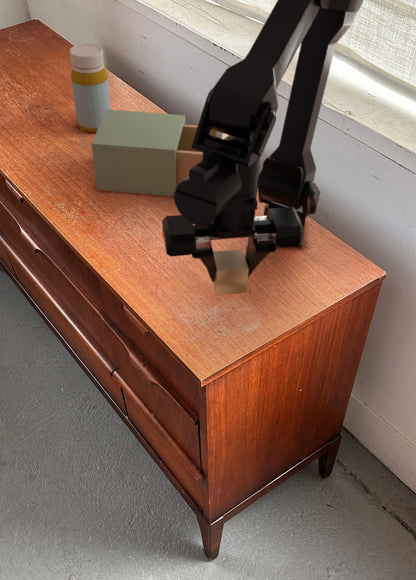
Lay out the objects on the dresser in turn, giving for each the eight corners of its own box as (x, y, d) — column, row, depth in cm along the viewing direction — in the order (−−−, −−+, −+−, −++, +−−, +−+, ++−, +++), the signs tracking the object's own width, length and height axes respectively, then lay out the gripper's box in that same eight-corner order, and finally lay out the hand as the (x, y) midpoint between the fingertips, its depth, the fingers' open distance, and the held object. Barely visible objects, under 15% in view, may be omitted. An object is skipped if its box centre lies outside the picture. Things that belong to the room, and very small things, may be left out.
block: (240, 273, 94) (242, 249, 91) (246, 292, 91) (248, 268, 88) (211, 275, 94) (212, 251, 90) (216, 295, 91) (217, 271, 87)
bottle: (105, 135, 127) (97, 59, 116) (72, 131, 128) (61, 55, 117) (116, 119, 132) (109, 44, 120) (84, 115, 133) (75, 40, 121)
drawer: (253, 163, 120) (256, 126, 115) (249, 196, 113) (252, 159, 107) (159, 155, 121) (157, 119, 116) (149, 188, 113) (147, 151, 108)
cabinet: (185, 160, 122) (185, 115, 115) (176, 196, 113) (175, 150, 107) (111, 154, 123) (106, 109, 116) (96, 190, 114) (91, 143, 107)
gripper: (291, 148, 86) (278, 240, 98) (156, 156, 84) (159, 249, 96) (312, 193, 79) (296, 287, 91) (165, 203, 77) (168, 298, 89)
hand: (229, 278), depth 92 cm, fingers closed on block, 4 cm apart
